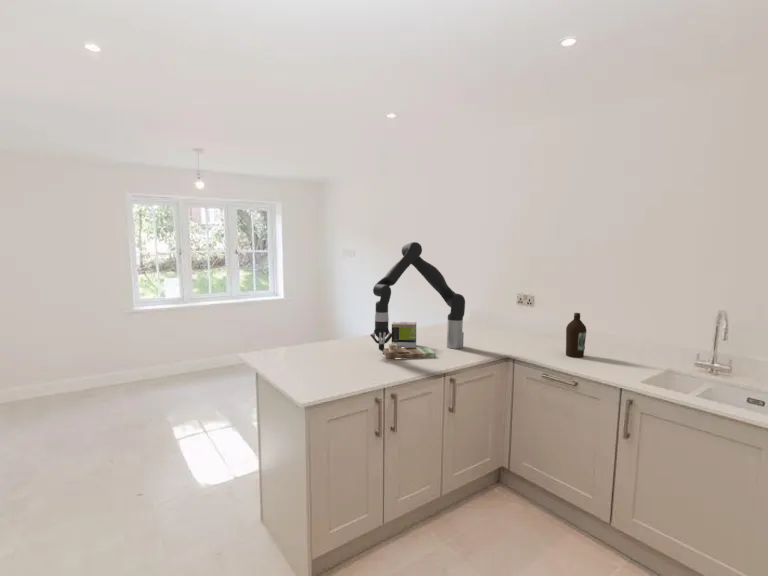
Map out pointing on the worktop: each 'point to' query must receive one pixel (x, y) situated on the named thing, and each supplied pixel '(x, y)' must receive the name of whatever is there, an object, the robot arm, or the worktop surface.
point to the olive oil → (575, 337)
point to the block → (393, 347)
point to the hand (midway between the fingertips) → (381, 350)
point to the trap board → (409, 352)
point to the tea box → (404, 334)
